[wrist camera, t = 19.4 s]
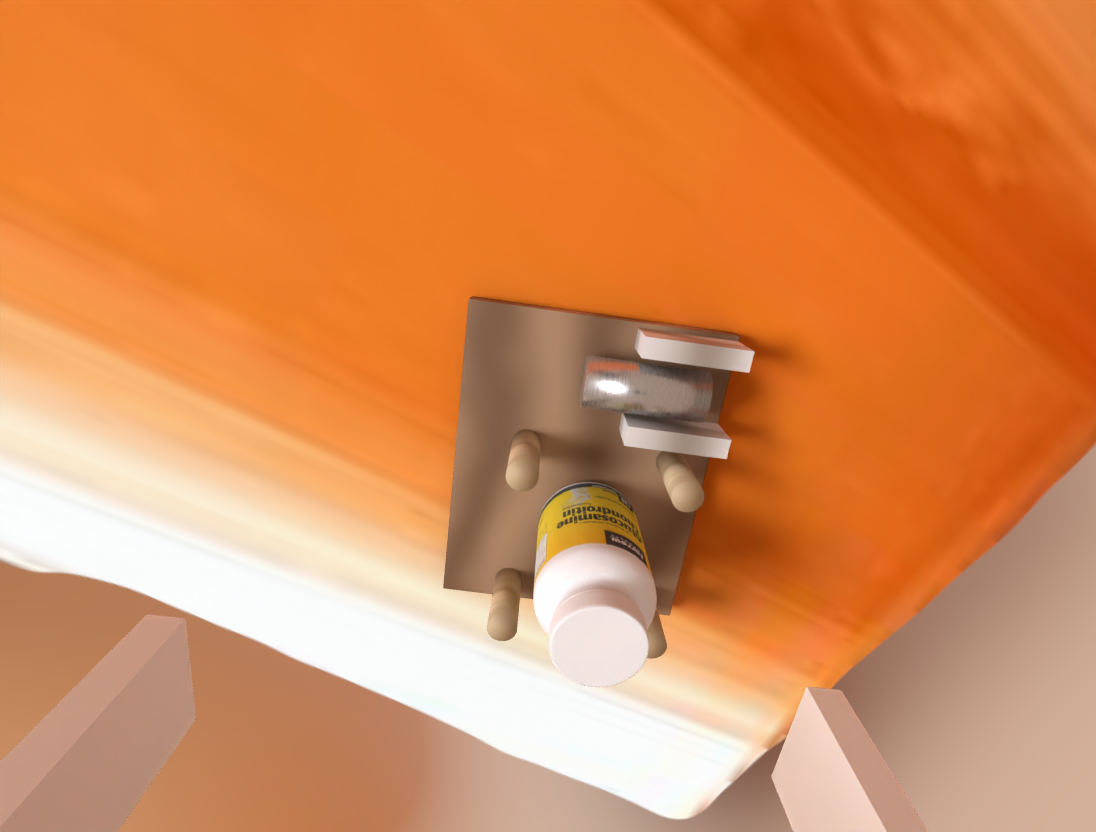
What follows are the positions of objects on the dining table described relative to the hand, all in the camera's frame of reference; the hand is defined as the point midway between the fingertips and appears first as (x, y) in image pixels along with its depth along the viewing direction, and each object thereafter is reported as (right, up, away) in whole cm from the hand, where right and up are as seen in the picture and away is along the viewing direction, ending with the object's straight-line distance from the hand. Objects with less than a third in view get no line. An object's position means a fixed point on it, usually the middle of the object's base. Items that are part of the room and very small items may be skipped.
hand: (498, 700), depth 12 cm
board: (+3, +3, +25) cm, 25 cm away
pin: (+7, +8, +21) cm, 24 cm away
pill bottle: (+4, -1, +25) cm, 25 cm away
